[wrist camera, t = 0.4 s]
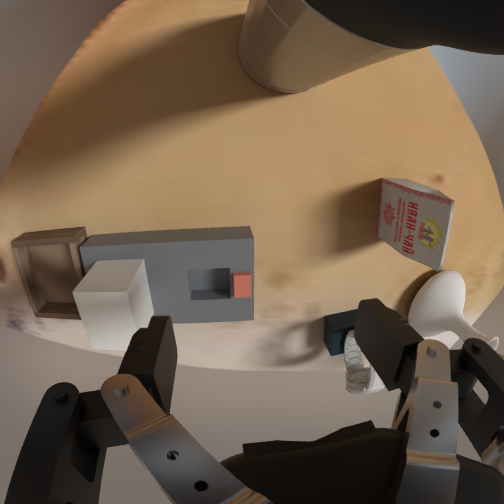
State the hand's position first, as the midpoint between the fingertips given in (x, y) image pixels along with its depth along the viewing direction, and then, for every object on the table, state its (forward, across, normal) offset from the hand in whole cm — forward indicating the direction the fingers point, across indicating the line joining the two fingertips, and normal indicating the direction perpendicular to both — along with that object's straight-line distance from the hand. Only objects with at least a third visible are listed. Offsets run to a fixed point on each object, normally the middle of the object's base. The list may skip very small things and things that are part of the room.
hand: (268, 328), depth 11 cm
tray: (+19, +22, +4) cm, 29 cm away
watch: (+20, -13, +14) cm, 28 cm away
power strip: (+19, +8, +5) cm, 21 cm away
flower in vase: (+20, -29, +12) cm, 37 cm away
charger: (+17, +12, +5) cm, 21 cm away
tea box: (+18, -18, -2) cm, 26 cm away
